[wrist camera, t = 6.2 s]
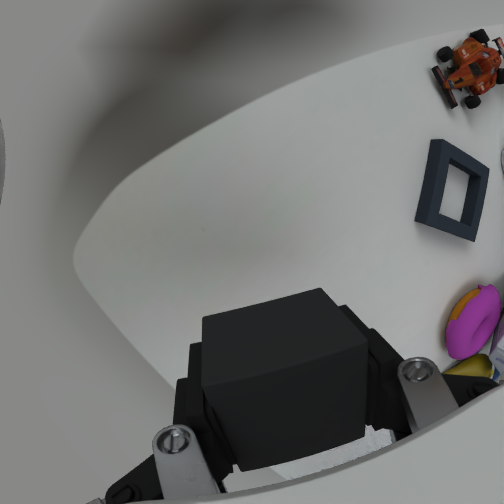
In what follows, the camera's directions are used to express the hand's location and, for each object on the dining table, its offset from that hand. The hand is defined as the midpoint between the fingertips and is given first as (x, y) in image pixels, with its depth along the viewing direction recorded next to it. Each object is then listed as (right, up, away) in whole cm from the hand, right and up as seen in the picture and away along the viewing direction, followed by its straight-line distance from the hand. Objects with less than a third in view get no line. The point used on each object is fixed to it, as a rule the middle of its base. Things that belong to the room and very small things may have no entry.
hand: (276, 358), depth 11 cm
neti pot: (+34, -12, +21) cm, 42 cm away
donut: (+28, -5, +22) cm, 36 cm away
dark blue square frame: (+21, +11, +17) cm, 29 cm away
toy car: (+26, +27, +13) cm, 40 cm away
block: (0, 0, +1) cm, 1 cm away
